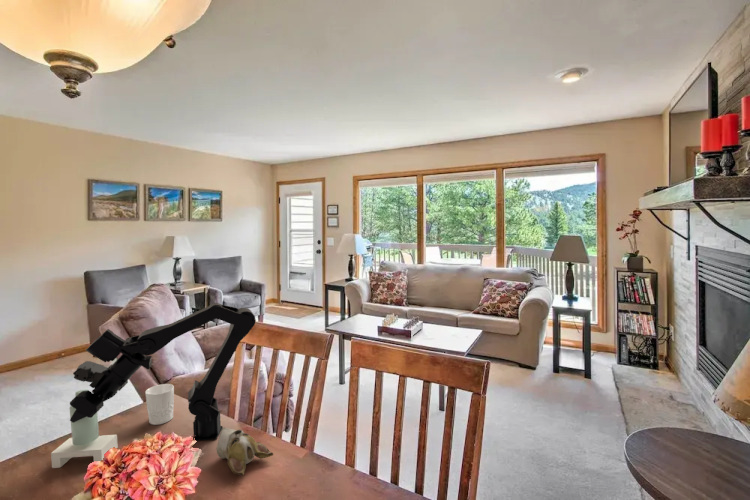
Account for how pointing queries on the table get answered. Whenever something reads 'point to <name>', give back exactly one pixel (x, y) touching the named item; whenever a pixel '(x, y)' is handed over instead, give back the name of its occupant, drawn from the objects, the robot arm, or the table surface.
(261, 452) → the ceramic sculpture
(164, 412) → the white cup
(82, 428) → the sage spray can
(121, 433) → the table surface
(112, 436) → the shelf
